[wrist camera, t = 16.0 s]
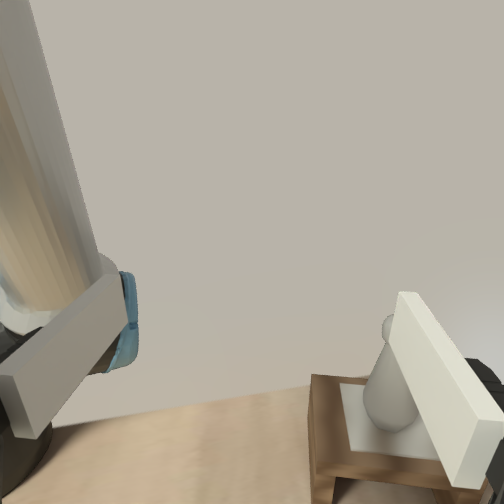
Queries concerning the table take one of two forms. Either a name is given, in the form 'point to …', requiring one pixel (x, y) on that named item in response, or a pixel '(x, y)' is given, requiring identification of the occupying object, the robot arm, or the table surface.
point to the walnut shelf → (370, 446)
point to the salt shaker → (389, 390)
